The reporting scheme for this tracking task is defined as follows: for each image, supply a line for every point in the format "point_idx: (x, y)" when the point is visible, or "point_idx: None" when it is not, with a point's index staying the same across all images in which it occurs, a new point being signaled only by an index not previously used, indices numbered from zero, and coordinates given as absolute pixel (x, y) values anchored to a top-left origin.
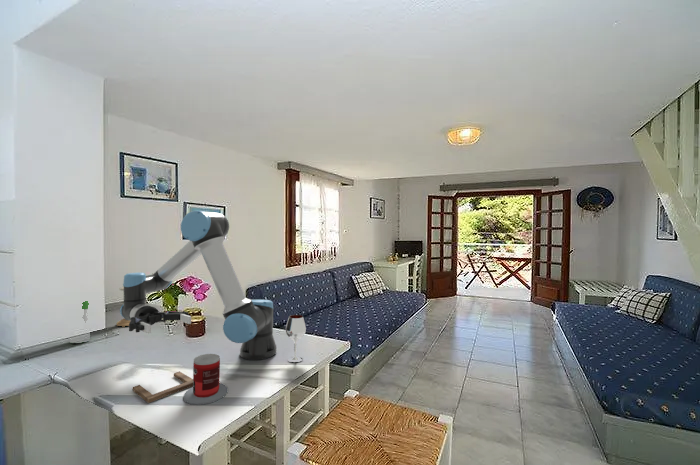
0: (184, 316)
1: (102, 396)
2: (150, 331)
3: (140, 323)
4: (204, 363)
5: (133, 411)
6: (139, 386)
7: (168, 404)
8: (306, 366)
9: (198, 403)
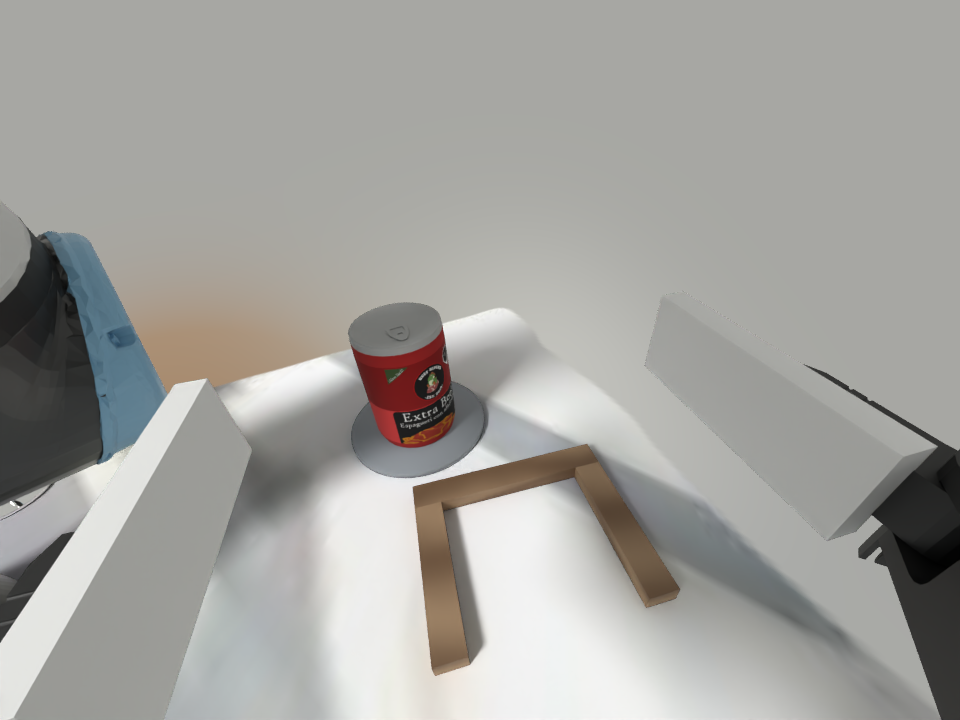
0: (158, 500)
1: (823, 621)
2: (652, 350)
3: (918, 456)
4: (421, 304)
5: (623, 430)
6: (644, 575)
7: (527, 421)
8: None
9: (458, 385)
